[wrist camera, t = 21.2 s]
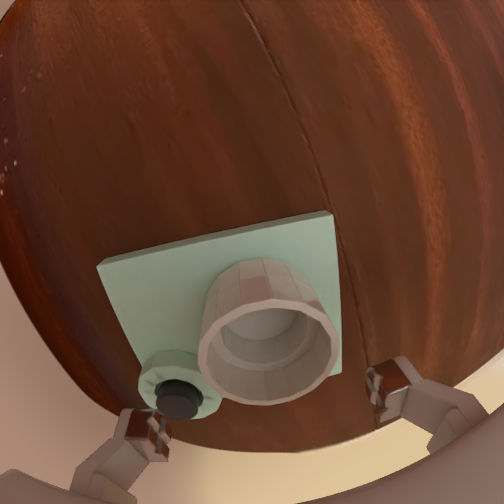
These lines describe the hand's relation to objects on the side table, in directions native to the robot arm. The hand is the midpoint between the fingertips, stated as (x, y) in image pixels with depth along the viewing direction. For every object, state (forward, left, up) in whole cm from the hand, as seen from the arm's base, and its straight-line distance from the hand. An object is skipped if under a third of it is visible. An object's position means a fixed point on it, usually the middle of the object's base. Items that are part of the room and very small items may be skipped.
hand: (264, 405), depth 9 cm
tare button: (-6, -5, -6) cm, 10 cm away
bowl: (+1, 0, -7) cm, 7 cm away
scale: (-2, -2, -9) cm, 9 cm away
